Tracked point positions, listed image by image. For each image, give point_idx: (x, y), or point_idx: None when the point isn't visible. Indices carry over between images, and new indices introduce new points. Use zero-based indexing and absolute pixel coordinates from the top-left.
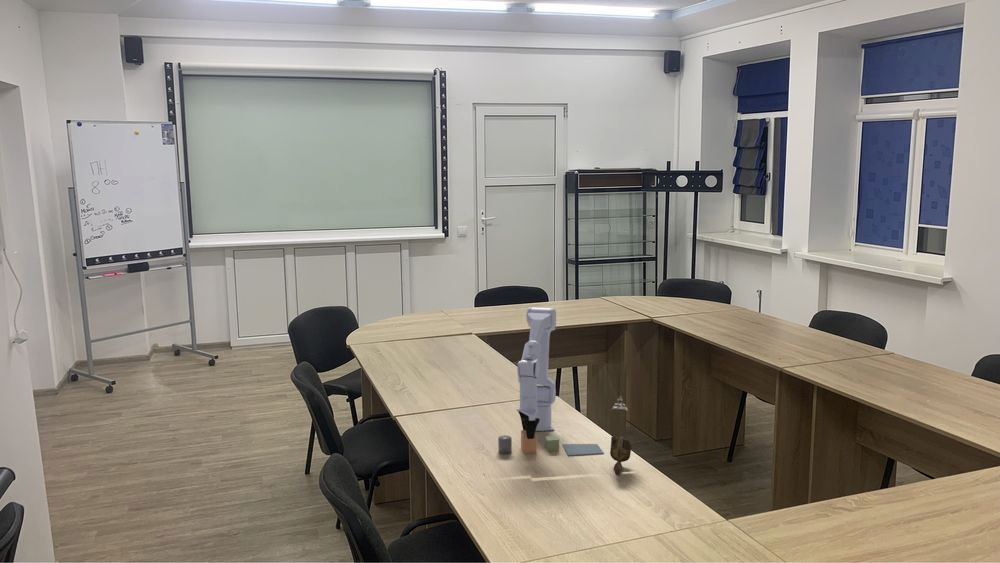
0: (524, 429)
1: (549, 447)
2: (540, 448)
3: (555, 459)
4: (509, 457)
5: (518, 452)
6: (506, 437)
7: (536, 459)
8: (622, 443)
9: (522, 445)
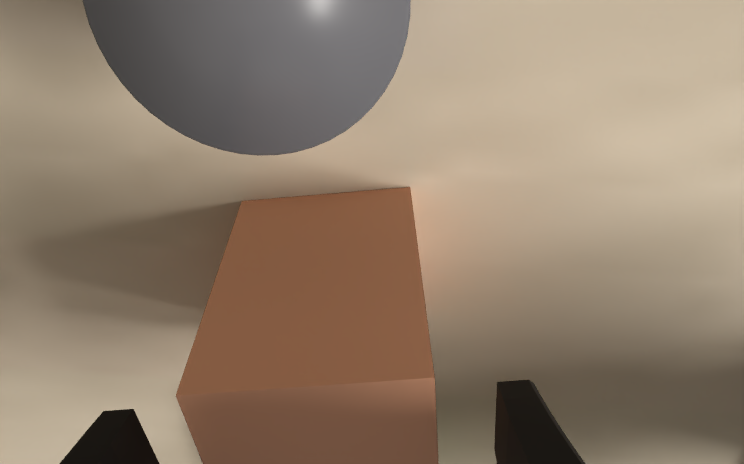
0: (502, 416)
1: None
2: None
3: None
4: (66, 11)
5: None
6: (266, 48)
7: (70, 315)
8: None
9: (287, 245)
